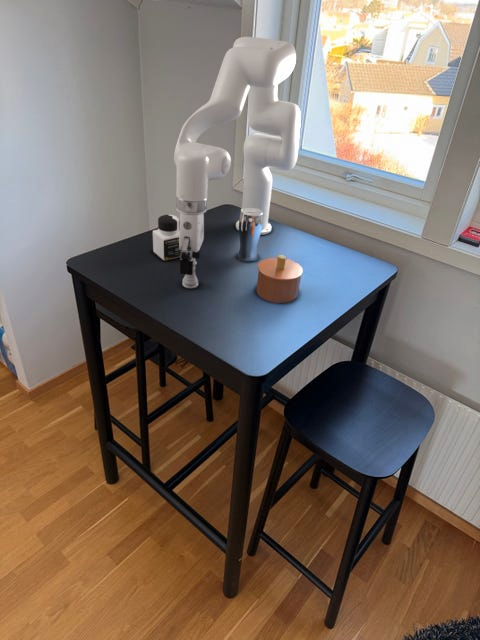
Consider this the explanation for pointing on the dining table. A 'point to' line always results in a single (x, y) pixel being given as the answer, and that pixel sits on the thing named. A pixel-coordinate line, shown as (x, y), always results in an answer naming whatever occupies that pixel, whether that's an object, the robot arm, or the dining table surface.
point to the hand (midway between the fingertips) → (190, 265)
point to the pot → (277, 289)
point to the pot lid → (280, 268)
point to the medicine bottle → (167, 238)
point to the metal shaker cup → (249, 233)
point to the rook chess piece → (191, 278)
